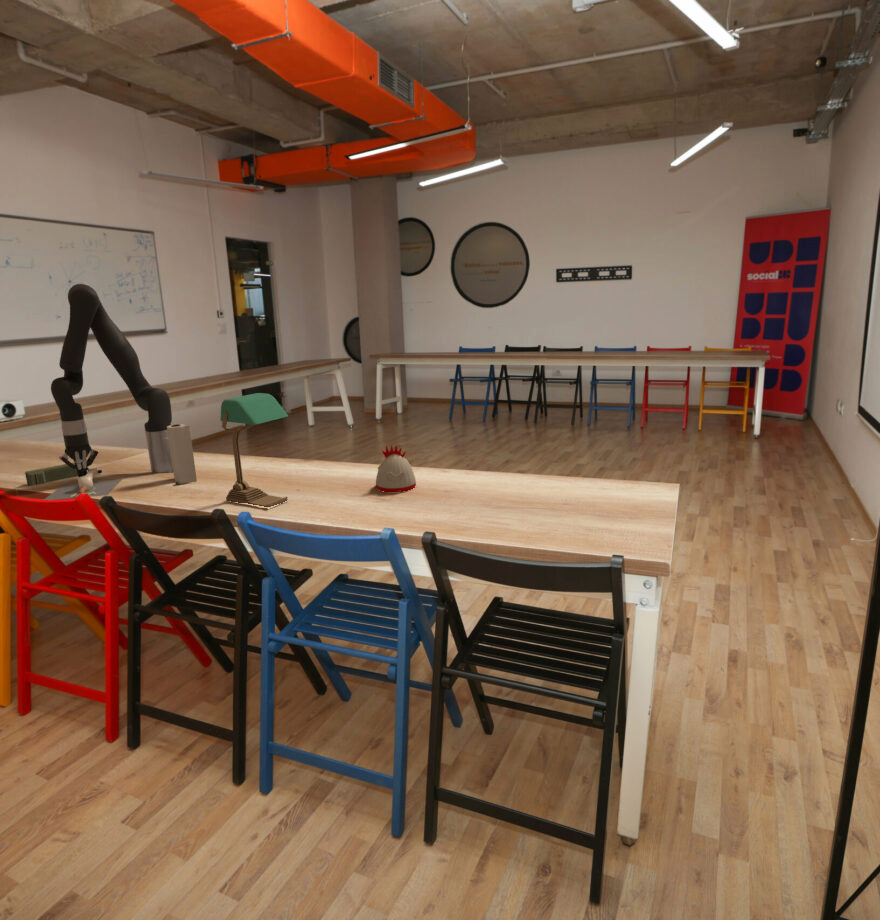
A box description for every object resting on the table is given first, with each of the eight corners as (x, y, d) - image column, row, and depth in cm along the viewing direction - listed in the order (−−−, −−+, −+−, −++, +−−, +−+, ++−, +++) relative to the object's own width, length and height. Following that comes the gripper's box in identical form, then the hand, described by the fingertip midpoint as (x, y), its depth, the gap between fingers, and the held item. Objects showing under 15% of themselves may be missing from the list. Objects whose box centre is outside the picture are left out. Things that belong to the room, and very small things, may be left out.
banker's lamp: (254, 491, 215) (242, 390, 206) (299, 499, 204) (289, 394, 195) (217, 504, 201) (203, 398, 192) (263, 513, 191) (251, 402, 182)
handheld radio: (27, 488, 228) (100, 473, 245) (30, 490, 225) (103, 475, 242) (24, 471, 226) (98, 457, 243) (26, 473, 223) (100, 458, 241)
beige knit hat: (376, 482, 221) (373, 441, 217) (414, 480, 222) (413, 439, 218) (375, 494, 207) (373, 450, 203) (416, 491, 208) (415, 448, 204)
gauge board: (122, 482, 231) (122, 478, 230) (107, 498, 212) (107, 494, 212) (64, 487, 227) (63, 483, 226) (43, 504, 208) (42, 499, 207)
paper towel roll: (172, 482, 228) (163, 425, 223) (188, 478, 233) (180, 422, 227) (181, 485, 224) (172, 428, 218) (197, 481, 228) (189, 425, 222)
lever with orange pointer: (88, 494, 211) (86, 482, 210) (74, 496, 210) (72, 484, 209) (100, 477, 231) (98, 467, 230) (87, 479, 230) (85, 468, 229)
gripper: (90, 427, 229) (98, 472, 233) (50, 434, 219) (59, 480, 224) (98, 430, 224) (106, 476, 229) (58, 436, 215) (67, 484, 219)
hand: (83, 478), depth 226 cm, fingers closed
